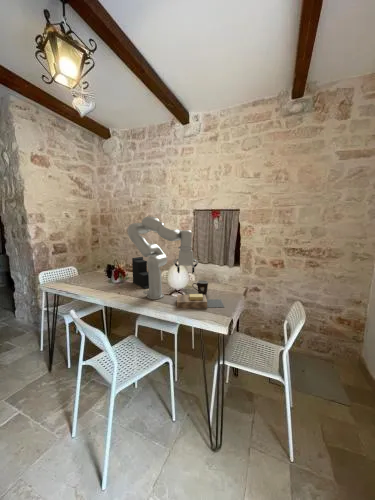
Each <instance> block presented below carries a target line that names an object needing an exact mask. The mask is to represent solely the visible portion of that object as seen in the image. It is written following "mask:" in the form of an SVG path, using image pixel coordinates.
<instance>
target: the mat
mask: <svg viewBox="0 0 375 500" xmlns="http://www.w3.org/2000/svg"><path fill="white" fill-rule="evenodd" d="M207 308H211V309H213V308H214V309H215V308H216V309H217V308H219V309H220V308H225V305H224V303H223V301H222V299H220V298H219V299H207Z"/></svg>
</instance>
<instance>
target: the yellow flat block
mask: <svg viewBox="0 0 375 500" xmlns="http://www.w3.org/2000/svg"><path fill="white" fill-rule="evenodd" d="M188 295H189V297H190V300H203V295H202V294H198V293H189V294H188Z"/></svg>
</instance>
